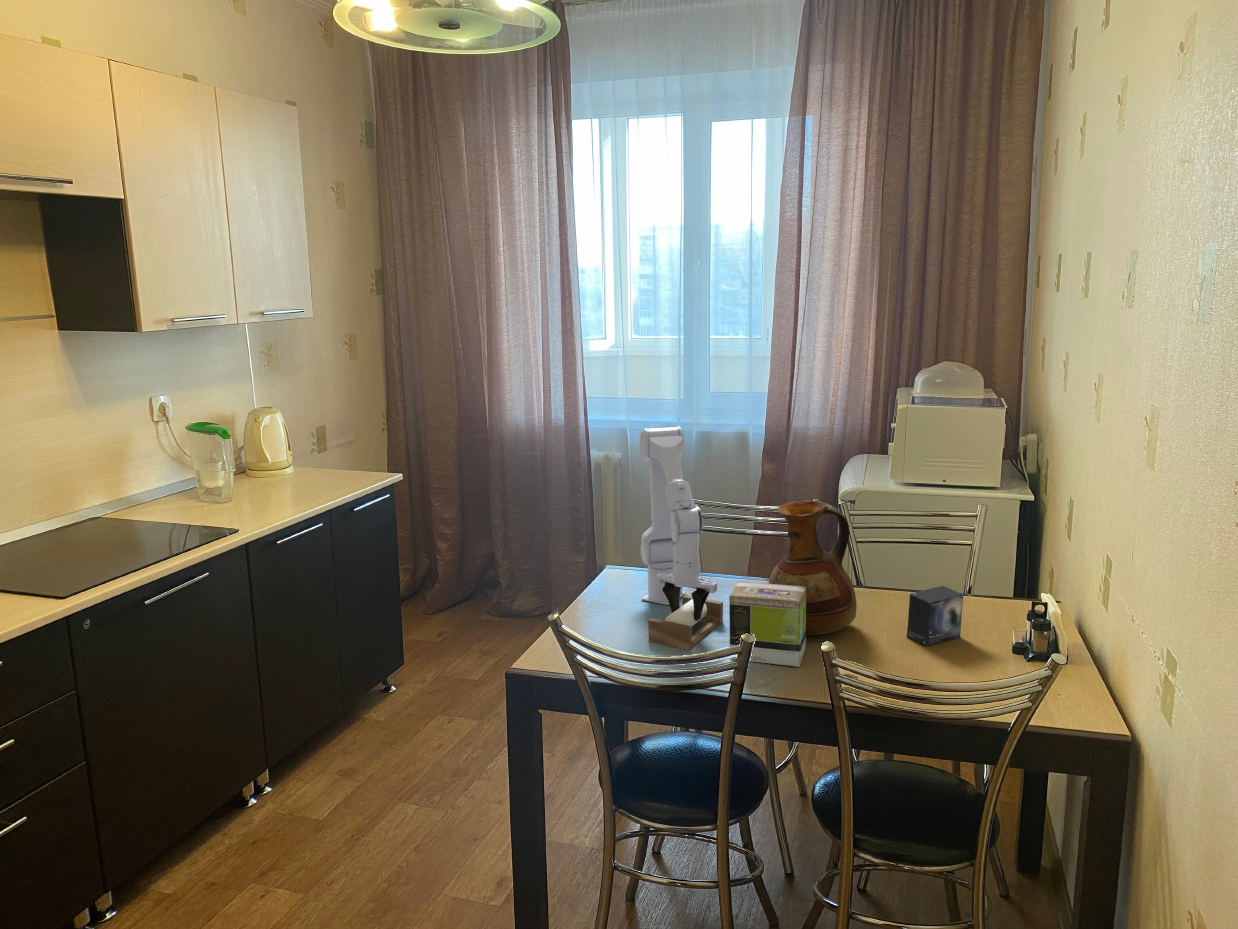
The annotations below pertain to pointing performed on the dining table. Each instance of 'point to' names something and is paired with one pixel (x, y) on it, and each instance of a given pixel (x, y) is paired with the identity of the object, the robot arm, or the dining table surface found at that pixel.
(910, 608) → the small box
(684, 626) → the holder
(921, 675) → the dining table surface
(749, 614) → the tea box
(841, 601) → the ceramic pitcher
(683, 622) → the cylinder
